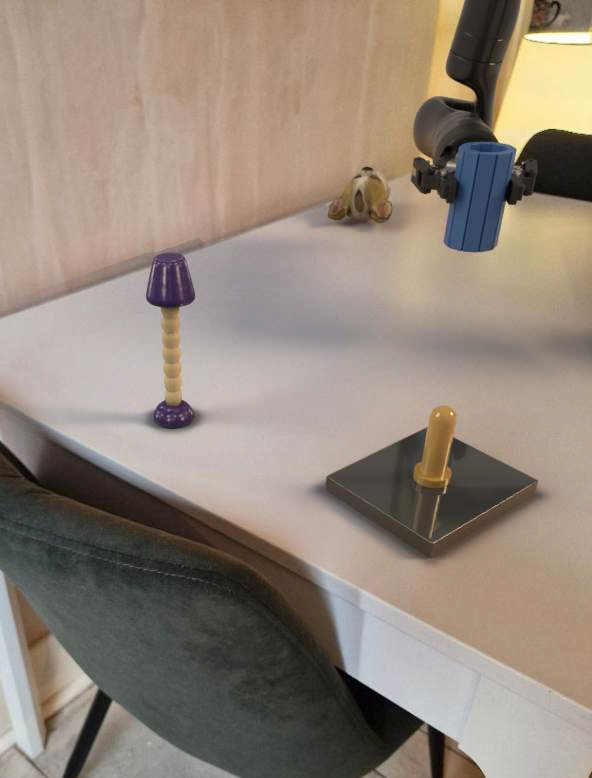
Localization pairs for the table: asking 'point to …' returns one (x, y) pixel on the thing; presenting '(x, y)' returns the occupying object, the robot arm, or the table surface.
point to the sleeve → (479, 196)
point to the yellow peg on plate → (431, 486)
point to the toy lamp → (171, 332)
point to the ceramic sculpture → (364, 198)
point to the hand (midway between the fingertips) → (483, 194)
